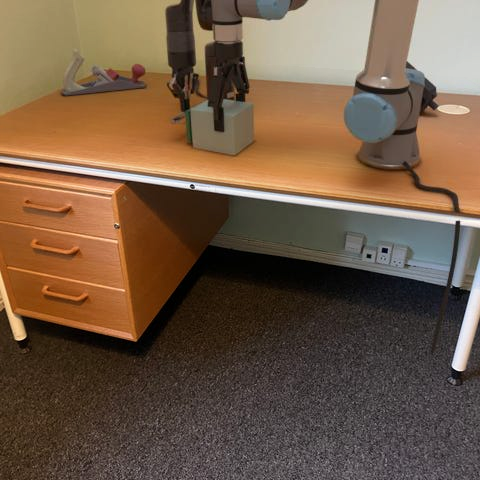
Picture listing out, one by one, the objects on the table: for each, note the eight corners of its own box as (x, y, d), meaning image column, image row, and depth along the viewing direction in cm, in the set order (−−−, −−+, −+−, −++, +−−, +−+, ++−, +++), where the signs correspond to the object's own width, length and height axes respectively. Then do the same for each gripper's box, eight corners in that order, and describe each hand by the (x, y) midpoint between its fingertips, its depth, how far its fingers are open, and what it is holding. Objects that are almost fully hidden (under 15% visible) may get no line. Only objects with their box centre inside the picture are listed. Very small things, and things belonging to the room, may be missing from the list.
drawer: (169, 138, 151) (166, 108, 147) (188, 127, 159) (186, 97, 154) (224, 149, 144) (222, 117, 139) (241, 136, 152) (241, 105, 147)
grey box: (192, 147, 148) (190, 109, 142) (213, 134, 157) (211, 97, 151) (234, 155, 143) (233, 116, 137) (253, 141, 151) (253, 103, 146)
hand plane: (62, 90, 197) (53, 48, 189) (145, 82, 205) (140, 41, 197) (62, 96, 191) (54, 53, 184) (148, 87, 199) (143, 45, 191)
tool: (376, 92, 179) (403, 55, 168) (419, 129, 175) (449, 94, 164) (367, 96, 175) (394, 59, 164) (411, 135, 171) (441, 99, 160)
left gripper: (182, 41, 148) (186, 103, 157) (154, 51, 138) (160, 116, 147) (206, 44, 145) (208, 106, 154) (179, 53, 135) (183, 120, 144)
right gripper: (237, 30, 144) (238, 109, 156) (189, 49, 127) (195, 136, 138) (261, 33, 141) (261, 112, 153) (217, 52, 124) (220, 140, 135)
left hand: (185, 111), depth 150 cm, fingers closed
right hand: (230, 123), depth 146 cm, fingers closed on grey box, 12 cm apart
